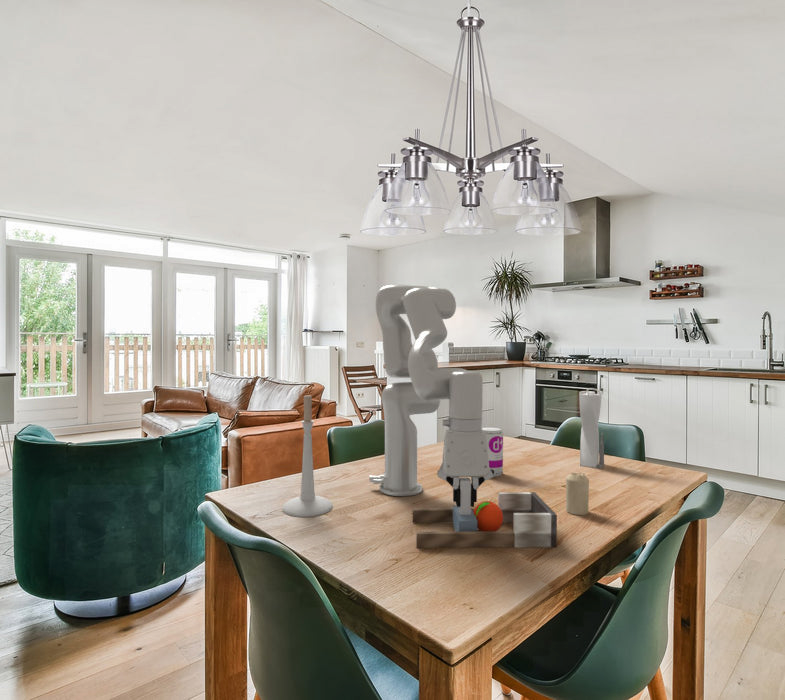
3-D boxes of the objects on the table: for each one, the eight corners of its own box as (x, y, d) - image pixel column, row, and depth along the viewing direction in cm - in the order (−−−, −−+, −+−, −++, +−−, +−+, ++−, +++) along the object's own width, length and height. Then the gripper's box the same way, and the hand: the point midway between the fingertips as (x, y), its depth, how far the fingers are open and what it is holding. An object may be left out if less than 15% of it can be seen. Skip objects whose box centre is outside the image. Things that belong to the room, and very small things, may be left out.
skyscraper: (600, 470, 168) (602, 389, 167) (575, 467, 172) (577, 387, 172) (604, 465, 175) (605, 386, 174) (580, 462, 179) (581, 385, 179)
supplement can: (507, 476, 160) (508, 430, 159) (485, 478, 157) (486, 431, 156) (493, 469, 167) (494, 425, 167) (472, 472, 164) (473, 427, 164)
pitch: (416, 547, 105) (416, 515, 105) (412, 520, 120) (412, 492, 120) (556, 547, 105) (556, 514, 105) (534, 520, 121) (534, 492, 121)
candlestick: (279, 503, 133) (279, 392, 132) (326, 497, 137) (326, 390, 137) (286, 519, 121) (286, 397, 120) (337, 513, 125) (337, 395, 125)
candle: (582, 507, 130) (583, 470, 130) (592, 515, 125) (592, 476, 124) (562, 507, 130) (562, 470, 130) (570, 515, 124) (571, 476, 124)
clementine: (489, 542, 108) (488, 509, 108) (464, 533, 113) (463, 502, 113) (509, 531, 113) (508, 500, 113) (484, 523, 118) (484, 494, 118)
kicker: (459, 540, 108) (459, 485, 107) (452, 523, 118) (453, 473, 117) (477, 540, 108) (477, 485, 107) (469, 523, 118) (469, 473, 117)
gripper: (431, 427, 108) (430, 510, 109) (504, 428, 108) (503, 511, 109) (428, 422, 116) (428, 499, 116) (497, 422, 116) (496, 499, 116)
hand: (464, 504), depth 113 cm, fingers closed on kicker, 2 cm apart
